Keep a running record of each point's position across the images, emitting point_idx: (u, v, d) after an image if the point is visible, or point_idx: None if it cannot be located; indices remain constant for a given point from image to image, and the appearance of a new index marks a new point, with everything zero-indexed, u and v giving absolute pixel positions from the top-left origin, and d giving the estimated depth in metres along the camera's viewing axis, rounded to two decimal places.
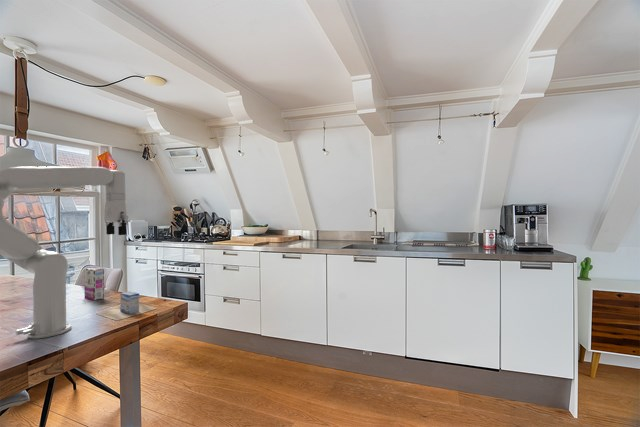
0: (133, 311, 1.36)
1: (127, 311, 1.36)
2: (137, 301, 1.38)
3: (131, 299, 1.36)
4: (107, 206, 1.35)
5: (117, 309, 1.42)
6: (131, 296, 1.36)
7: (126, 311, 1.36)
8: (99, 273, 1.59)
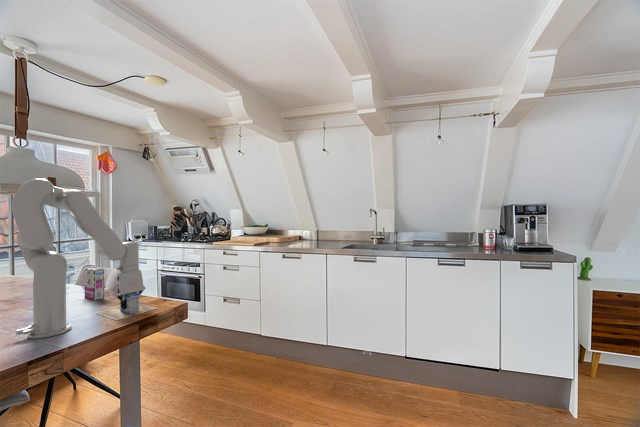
0: (133, 311, 1.36)
1: (127, 311, 1.36)
2: (137, 301, 1.38)
3: (131, 299, 1.36)
4: (129, 278, 1.36)
5: (117, 309, 1.42)
6: (131, 296, 1.36)
7: (126, 311, 1.36)
8: (99, 273, 1.59)
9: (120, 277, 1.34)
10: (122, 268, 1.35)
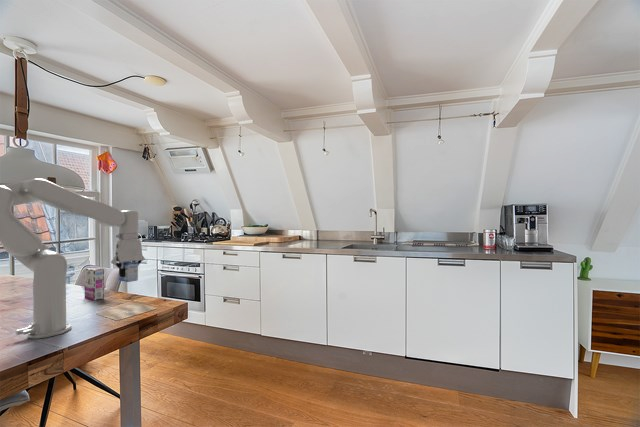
0: (132, 279, 1.36)
1: (125, 279, 1.35)
2: (136, 270, 1.38)
3: (130, 267, 1.35)
4: (128, 246, 1.36)
5: (117, 309, 1.42)
6: (130, 264, 1.35)
7: (124, 279, 1.36)
8: (99, 273, 1.59)
9: (119, 244, 1.34)
10: (121, 236, 1.35)
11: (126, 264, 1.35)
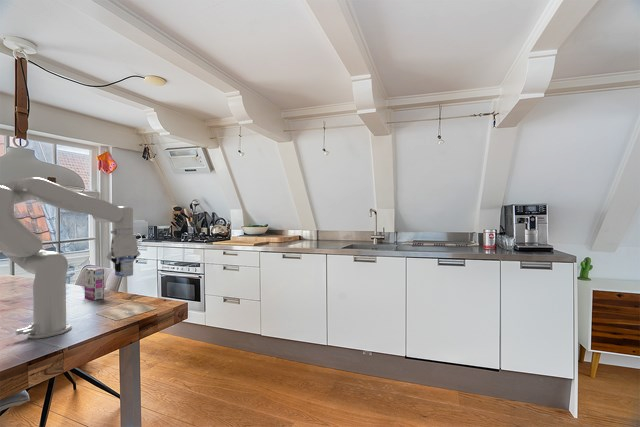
0: (127, 274, 1.38)
1: (121, 274, 1.38)
2: (131, 265, 1.40)
3: (125, 262, 1.38)
4: (123, 241, 1.38)
5: (117, 309, 1.42)
6: (125, 259, 1.38)
7: (120, 274, 1.38)
8: (99, 273, 1.59)
9: (114, 240, 1.36)
10: (116, 231, 1.37)
11: (121, 259, 1.38)
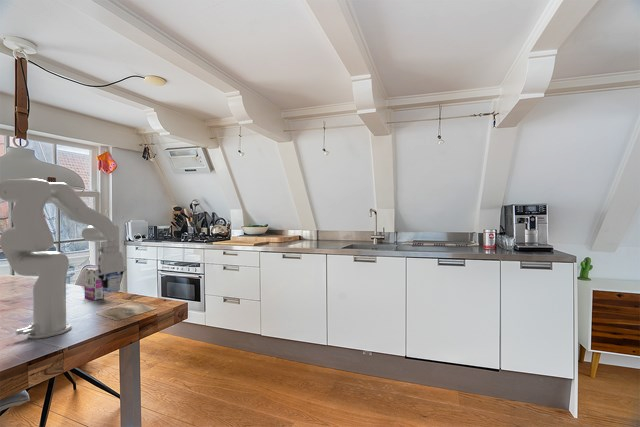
0: (114, 290, 1.45)
1: (108, 290, 1.45)
2: (118, 281, 1.47)
3: (112, 278, 1.44)
4: (110, 259, 1.44)
5: (117, 309, 1.42)
6: (112, 276, 1.44)
7: (107, 290, 1.45)
8: (99, 273, 1.59)
9: (101, 258, 1.42)
10: (103, 249, 1.43)
11: (108, 276, 1.44)
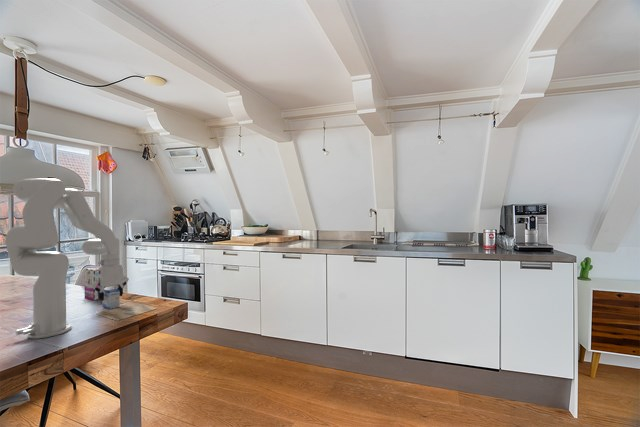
0: (113, 306, 1.45)
1: (108, 306, 1.44)
2: (117, 297, 1.46)
3: (111, 295, 1.44)
4: (110, 271, 1.44)
5: (117, 309, 1.42)
6: (111, 292, 1.44)
7: (107, 306, 1.45)
8: None
9: (101, 271, 1.42)
10: (103, 262, 1.43)
11: (108, 292, 1.44)
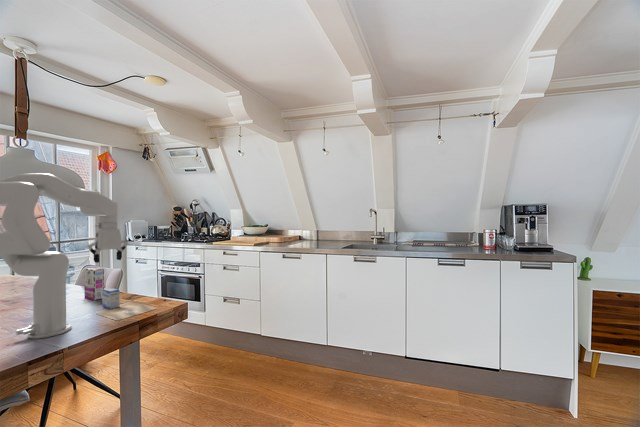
0: (113, 306, 1.45)
1: (108, 306, 1.44)
2: (117, 297, 1.46)
3: (111, 295, 1.44)
4: (107, 235, 1.44)
5: (117, 309, 1.42)
6: (111, 292, 1.44)
7: (107, 306, 1.45)
8: (99, 273, 1.59)
9: (98, 233, 1.42)
10: (101, 225, 1.43)
11: (108, 292, 1.44)
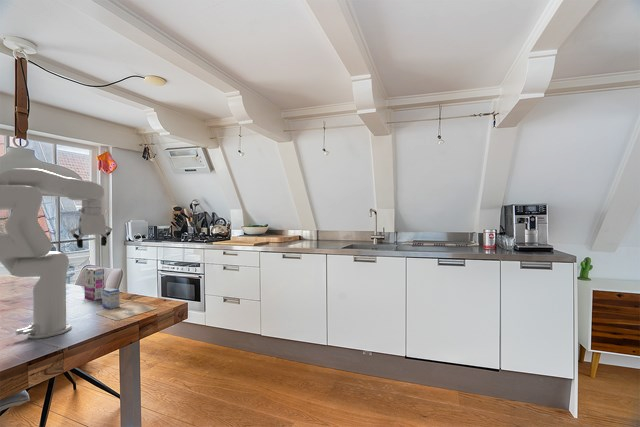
0: (113, 306, 1.45)
1: (108, 306, 1.44)
2: (117, 297, 1.46)
3: (111, 295, 1.44)
4: (91, 220, 1.41)
5: (117, 309, 1.42)
6: (111, 292, 1.44)
7: (107, 306, 1.45)
8: (99, 273, 1.59)
9: (82, 218, 1.39)
10: (84, 210, 1.40)
11: (108, 292, 1.44)
